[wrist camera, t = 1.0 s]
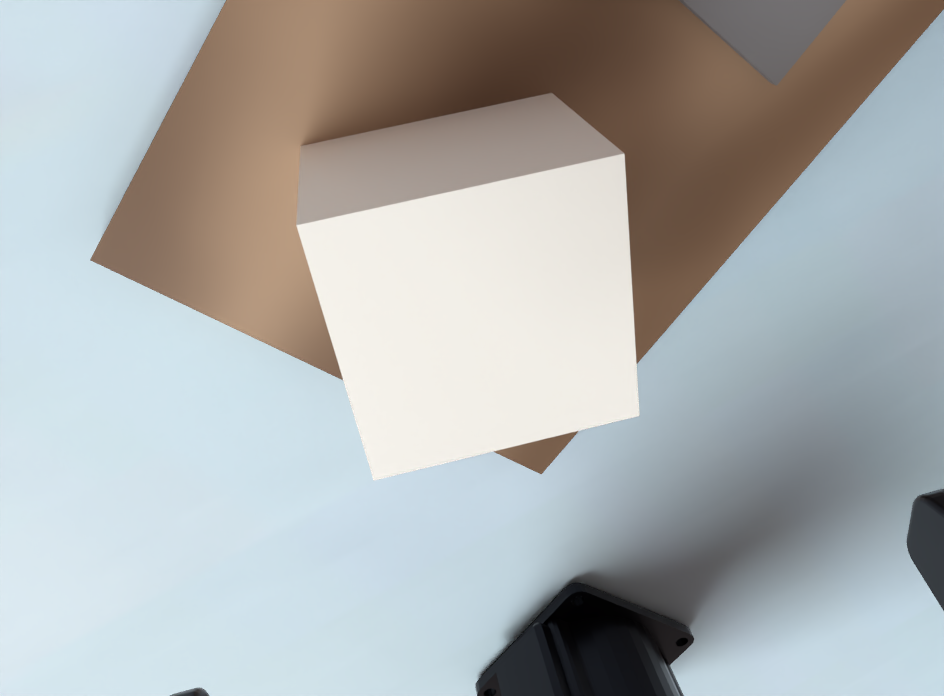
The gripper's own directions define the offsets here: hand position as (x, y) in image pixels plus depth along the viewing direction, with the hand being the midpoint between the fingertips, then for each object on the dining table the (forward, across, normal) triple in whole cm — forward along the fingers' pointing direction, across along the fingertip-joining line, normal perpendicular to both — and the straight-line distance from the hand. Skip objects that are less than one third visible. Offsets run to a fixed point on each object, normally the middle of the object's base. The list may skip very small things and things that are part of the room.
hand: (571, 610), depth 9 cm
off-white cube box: (+12, 0, 0) cm, 12 cm away
